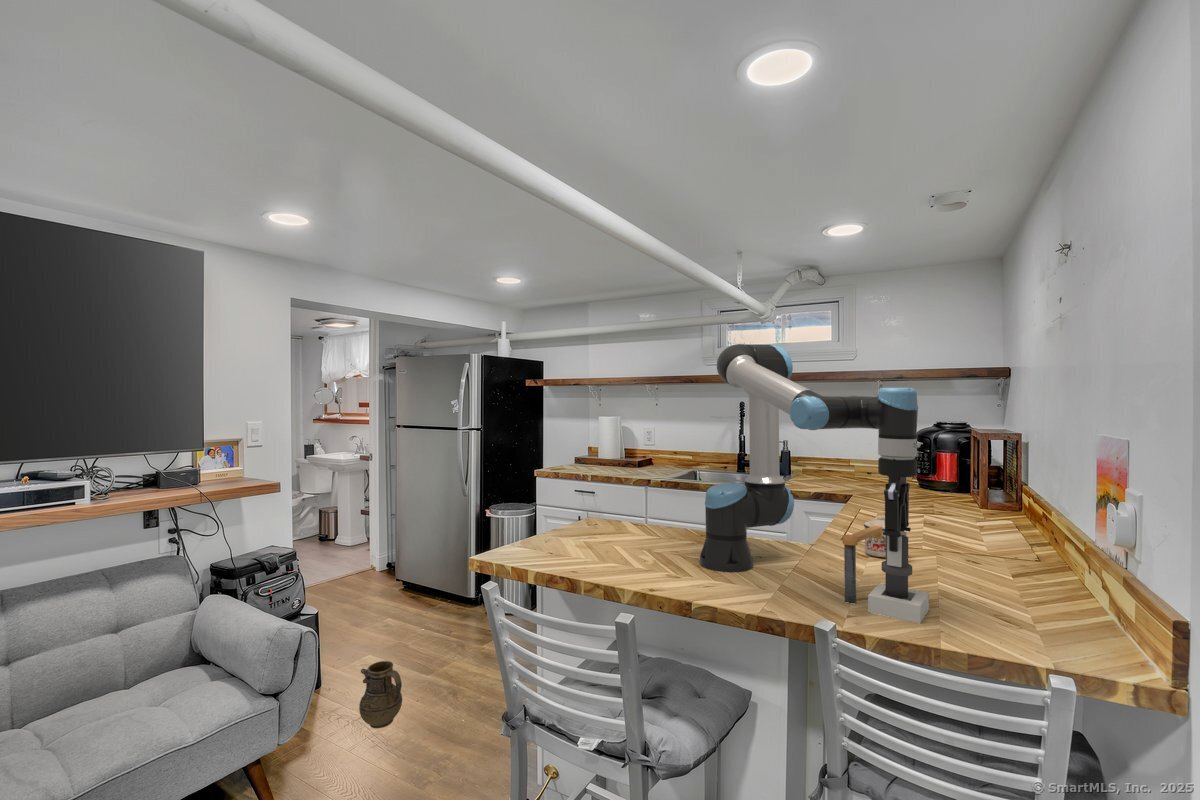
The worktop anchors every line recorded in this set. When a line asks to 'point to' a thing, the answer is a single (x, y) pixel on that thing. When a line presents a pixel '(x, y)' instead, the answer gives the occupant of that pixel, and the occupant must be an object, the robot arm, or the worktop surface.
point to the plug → (898, 574)
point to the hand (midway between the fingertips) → (896, 562)
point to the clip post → (850, 573)
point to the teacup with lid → (876, 545)
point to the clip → (862, 535)
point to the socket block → (899, 604)
